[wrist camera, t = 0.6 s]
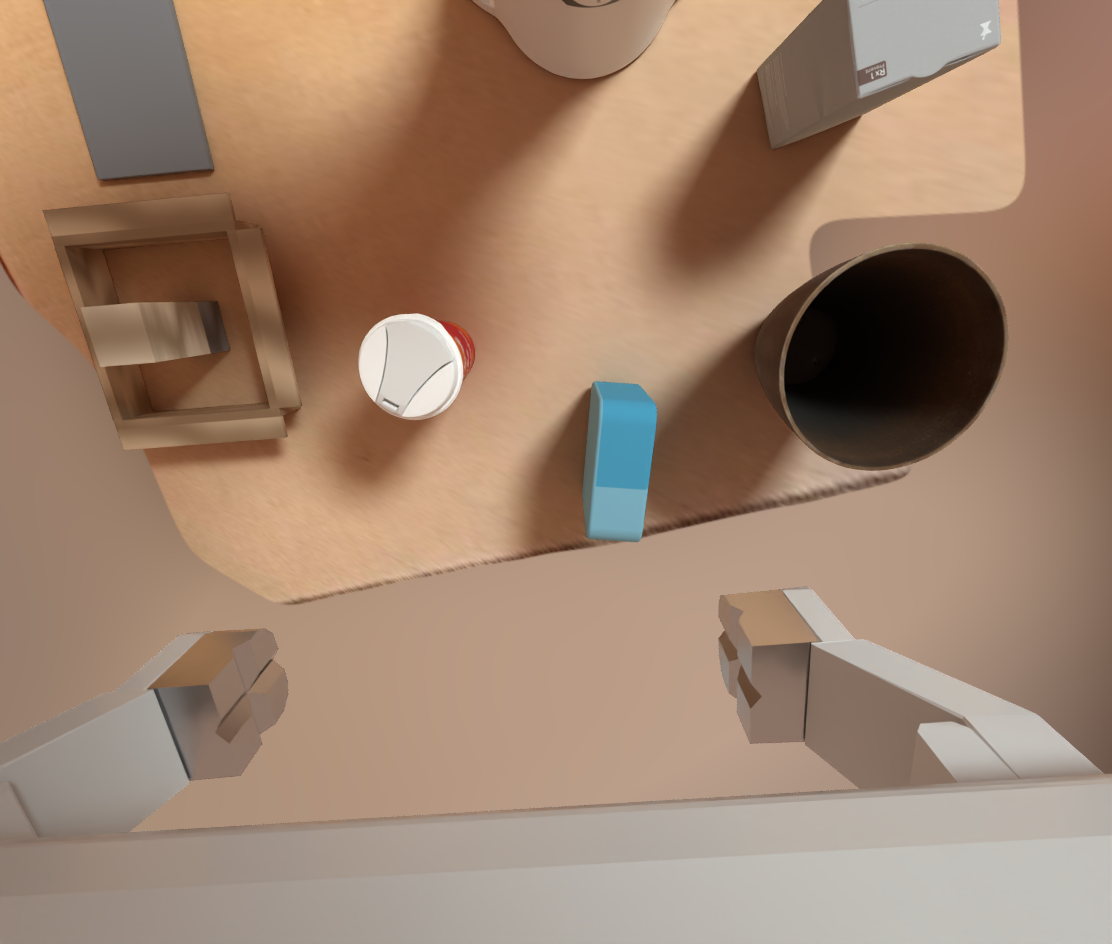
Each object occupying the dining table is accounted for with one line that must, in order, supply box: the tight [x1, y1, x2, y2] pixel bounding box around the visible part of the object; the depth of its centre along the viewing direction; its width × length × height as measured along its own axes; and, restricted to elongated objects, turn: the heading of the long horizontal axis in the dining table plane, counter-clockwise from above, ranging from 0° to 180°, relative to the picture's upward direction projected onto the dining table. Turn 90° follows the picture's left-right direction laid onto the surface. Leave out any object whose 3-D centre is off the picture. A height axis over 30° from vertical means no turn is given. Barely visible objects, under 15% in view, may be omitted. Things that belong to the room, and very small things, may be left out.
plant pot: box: [754, 243, 1009, 471], centre depth 44 cm, size 15×15×16 cm
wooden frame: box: [43, 193, 302, 450], centre depth 50 cm, size 21×18×4 cm
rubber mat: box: [43, 0, 214, 181], centre depth 45 cm, size 14×10×1 cm
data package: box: [582, 381, 657, 542], centre depth 49 cm, size 12×4×12 cm, turn 176°
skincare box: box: [757, 0, 1001, 149], centre depth 38 cm, size 8×7×16 cm
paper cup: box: [358, 313, 475, 420], centre depth 45 cm, size 8×8×14 cm
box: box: [81, 301, 230, 367], centre depth 47 cm, size 4×4×10 cm
